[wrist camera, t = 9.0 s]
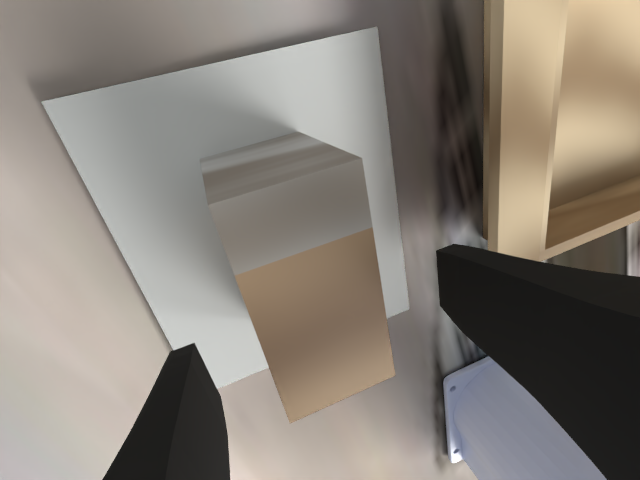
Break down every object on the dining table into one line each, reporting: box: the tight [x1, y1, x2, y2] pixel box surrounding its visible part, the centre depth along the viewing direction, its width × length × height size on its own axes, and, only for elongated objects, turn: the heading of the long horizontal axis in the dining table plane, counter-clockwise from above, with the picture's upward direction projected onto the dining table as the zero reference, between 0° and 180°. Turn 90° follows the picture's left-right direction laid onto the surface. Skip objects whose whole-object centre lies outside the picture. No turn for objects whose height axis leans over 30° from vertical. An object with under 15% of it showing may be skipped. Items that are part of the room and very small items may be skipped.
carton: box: [483, 0, 640, 262], centre depth 17 cm, size 13×21×5 cm, turn 102°
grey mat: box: [42, 26, 410, 389], centre depth 16 cm, size 14×12×1 cm
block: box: [200, 132, 395, 423], centre depth 13 cm, size 8×4×6 cm, turn 12°
